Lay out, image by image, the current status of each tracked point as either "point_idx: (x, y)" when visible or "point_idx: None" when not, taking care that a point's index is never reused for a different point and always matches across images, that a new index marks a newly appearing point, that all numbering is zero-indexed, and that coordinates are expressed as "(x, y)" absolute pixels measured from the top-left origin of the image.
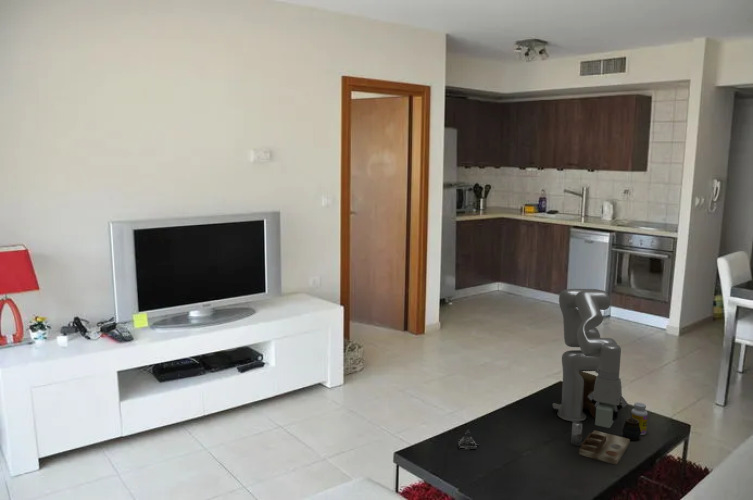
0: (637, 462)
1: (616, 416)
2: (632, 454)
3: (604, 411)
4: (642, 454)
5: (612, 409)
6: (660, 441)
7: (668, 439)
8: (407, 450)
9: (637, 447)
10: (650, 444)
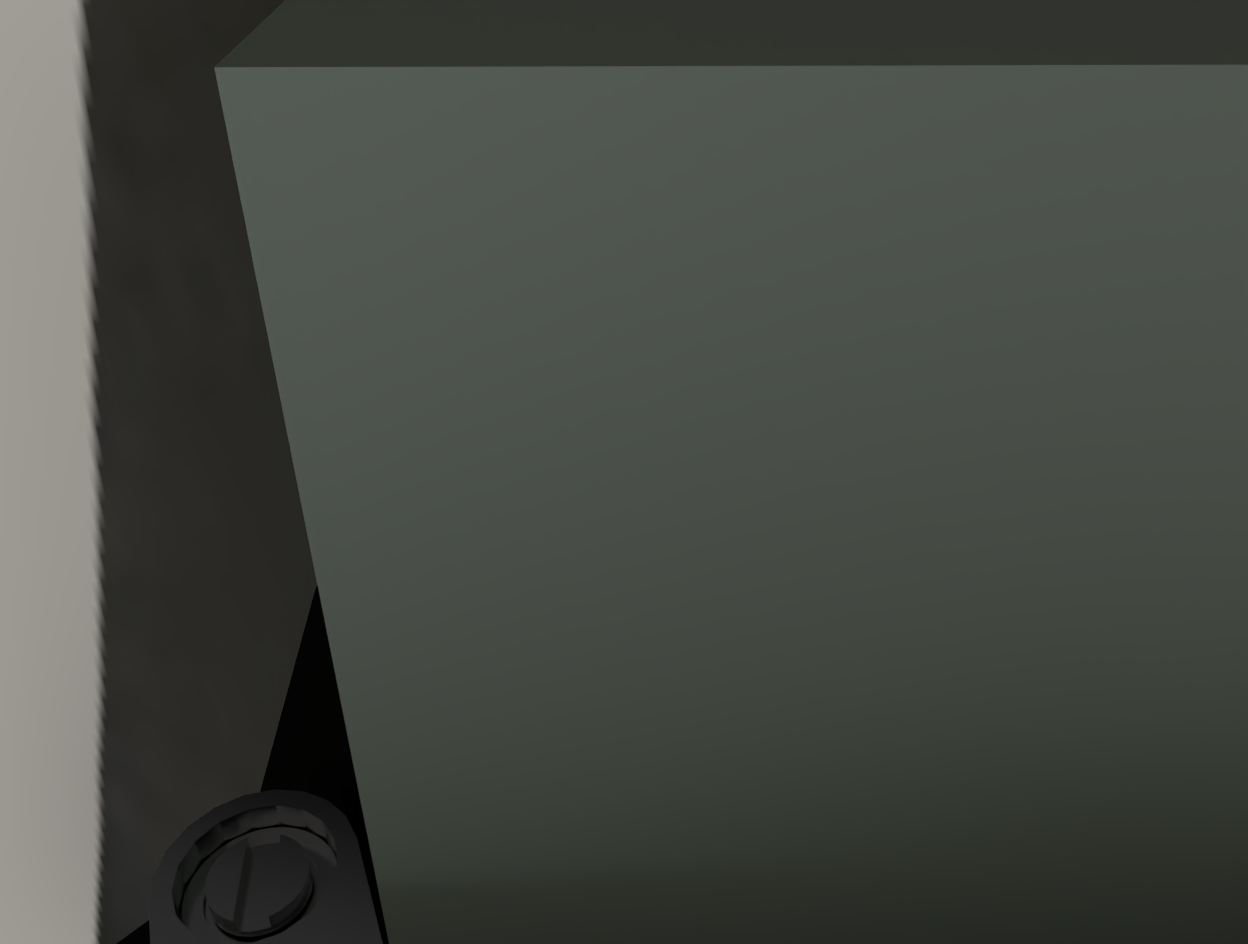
0: (99, 189)
1: (314, 622)
2: (272, 405)
3: (1004, 22)
4: (162, 478)
5: (375, 752)
6: (149, 856)
7: (105, 922)
8: None
9: (298, 619)
10: (204, 754)
